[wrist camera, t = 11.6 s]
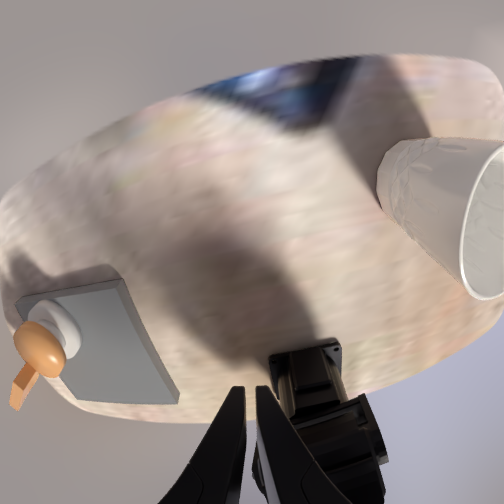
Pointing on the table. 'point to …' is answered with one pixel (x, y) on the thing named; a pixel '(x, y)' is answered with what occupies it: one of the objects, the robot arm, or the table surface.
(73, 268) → the table surface
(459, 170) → the white cup
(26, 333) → the lever cap
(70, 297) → the base
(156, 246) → the table surface
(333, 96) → the table surface
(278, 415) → the robot arm
